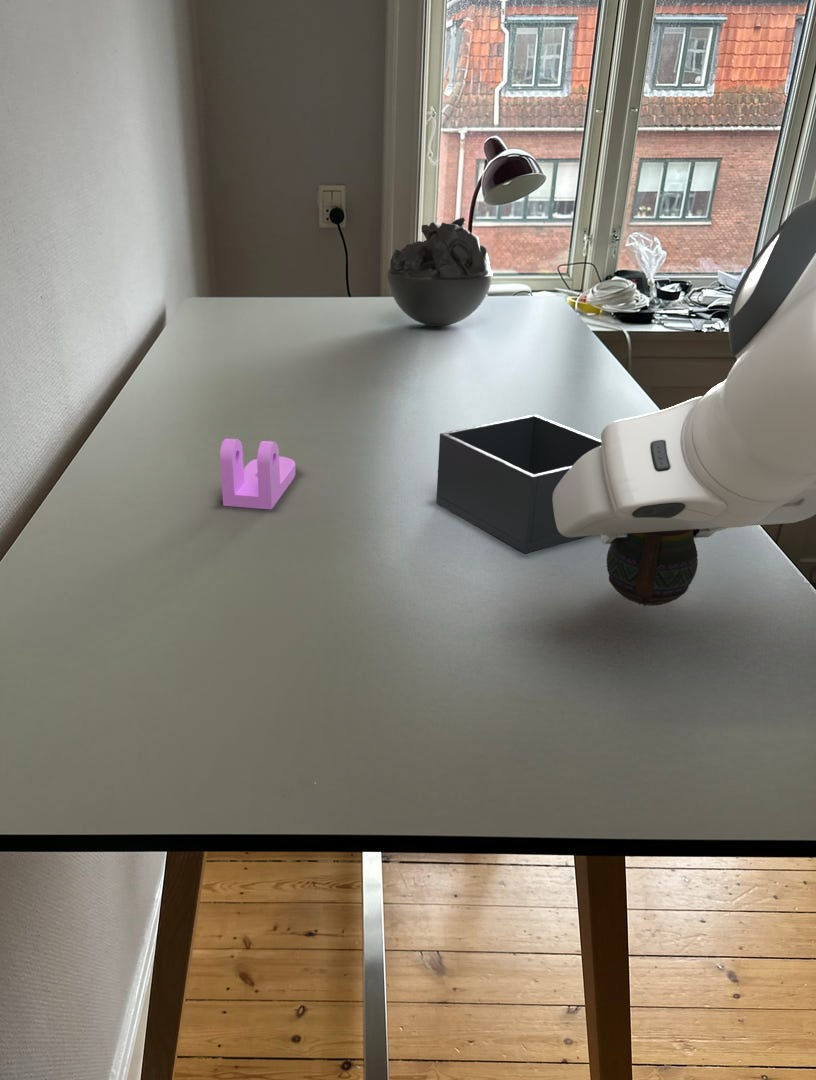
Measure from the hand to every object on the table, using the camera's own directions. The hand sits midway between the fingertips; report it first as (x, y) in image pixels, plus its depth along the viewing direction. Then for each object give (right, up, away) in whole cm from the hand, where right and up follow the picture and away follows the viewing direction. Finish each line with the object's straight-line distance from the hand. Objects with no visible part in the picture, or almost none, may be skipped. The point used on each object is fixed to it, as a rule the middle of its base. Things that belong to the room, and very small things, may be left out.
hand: (652, 532), depth 75 cm
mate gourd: (0, -5, +2) cm, 6 cm away
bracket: (-34, +9, +31) cm, 47 cm away
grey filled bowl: (-6, +53, +105) cm, 117 cm away
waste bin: (-5, +5, +24) cm, 25 cm away
